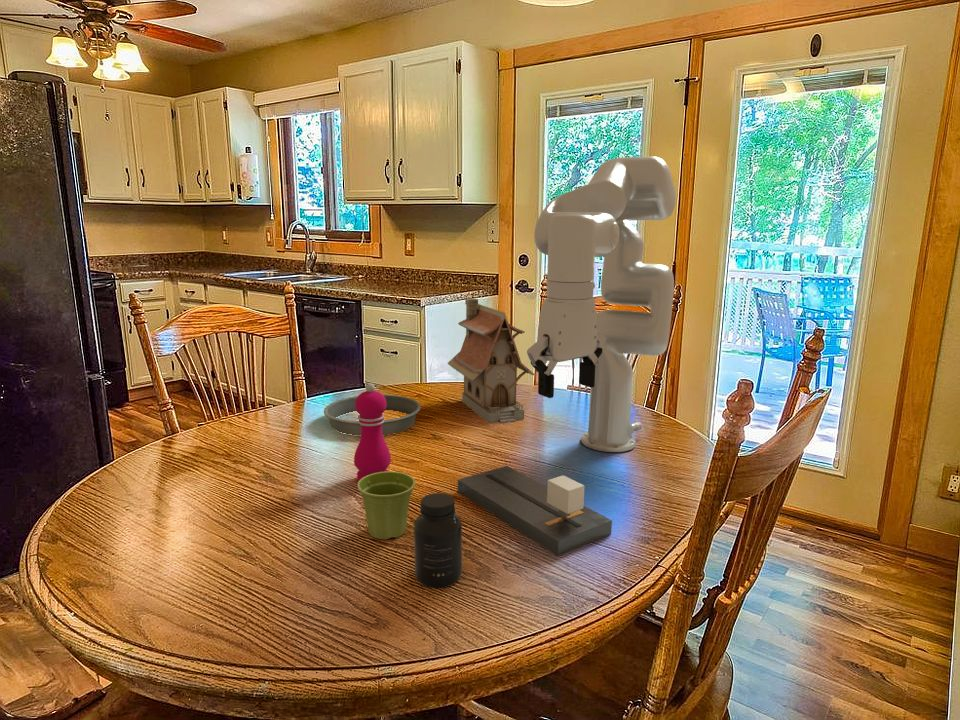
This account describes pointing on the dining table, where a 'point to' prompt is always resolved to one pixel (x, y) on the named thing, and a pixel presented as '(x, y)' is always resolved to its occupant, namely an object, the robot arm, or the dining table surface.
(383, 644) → the dining table surface
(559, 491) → the fader knob
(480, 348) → the miniature house
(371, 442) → the pepper mill
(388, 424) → the cake pan
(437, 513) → the supplement bottle
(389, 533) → the plant pot
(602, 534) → the fader console
